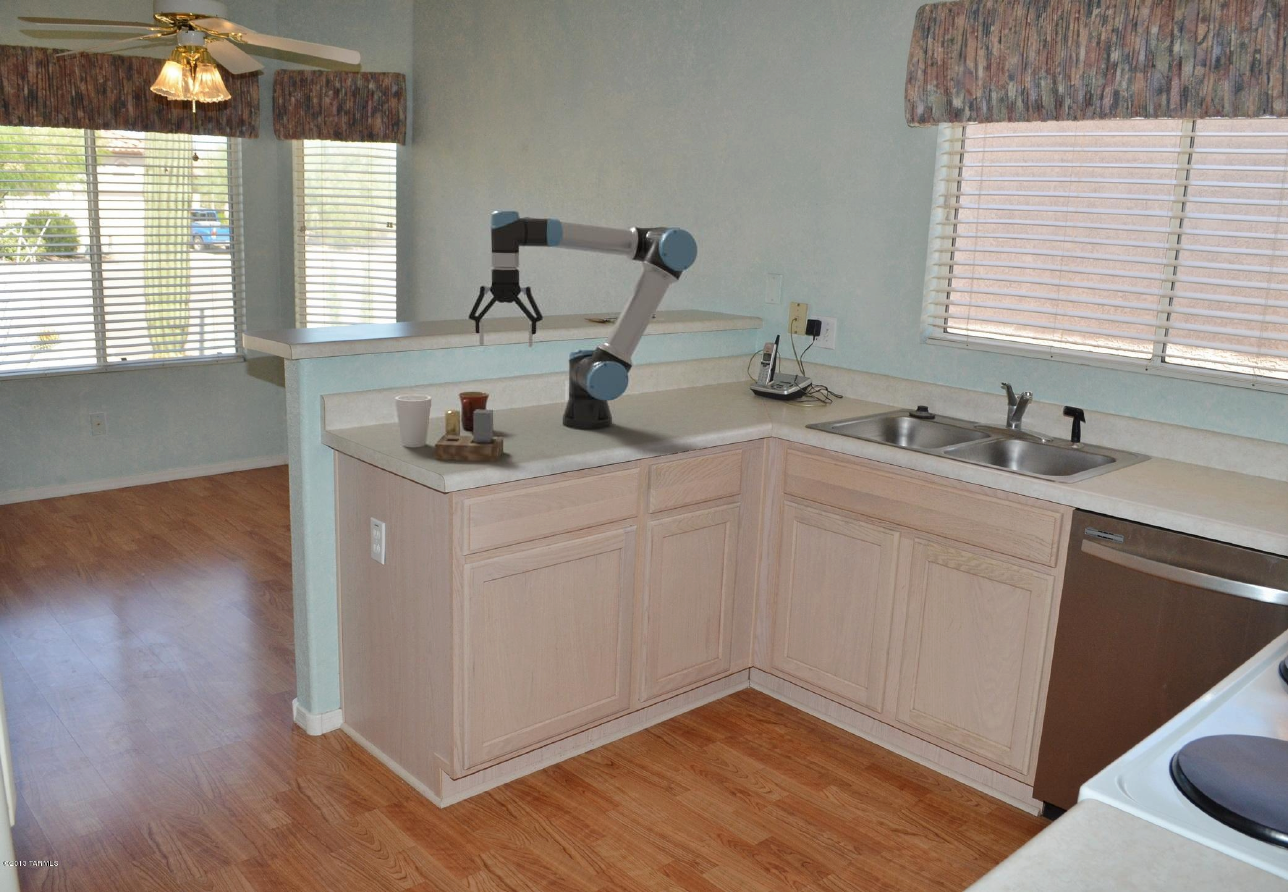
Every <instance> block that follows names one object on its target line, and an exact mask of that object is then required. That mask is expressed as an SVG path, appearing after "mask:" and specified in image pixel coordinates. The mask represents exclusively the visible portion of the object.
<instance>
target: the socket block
mask: <svg viewBox="0 0 1288 892" xmlns="http://www.w3.org/2000/svg"><path fill="white" fill-rule="evenodd" d="M503 453H504V437H503V436H493V444H477V443H473V435H460V436H455V435H445V434H443V435H442V436H441V438H439V439H438V441H436V442H435V443H434V459H435V460H440V461H441V460H442V461H446V460H447V461H448V460H449V461H467V462H468V461H471V462H498V461H499V460H500V458H501V457H502V454H503Z"/></svg>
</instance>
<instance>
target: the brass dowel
mask: <svg viewBox="0 0 1288 892" xmlns="http://www.w3.org/2000/svg"><path fill="white" fill-rule="evenodd" d="M444 423H445V425H444V426H445V427H444V428H445V431H444V432H445V434H444V435H455V436H461V411H460V410H457V409H456V410H455V409H448V410H445V412H444Z"/></svg>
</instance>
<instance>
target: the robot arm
mask: <svg viewBox="0 0 1288 892" xmlns="http://www.w3.org/2000/svg"><path fill="white" fill-rule="evenodd" d="M519 214H520V213H519V212H518V211H517V210H494V211H493V212H492V213H491V219H490V220H491V221H490V240H491V241H490V242H491V243H490V245H491V247H490V248H491V253H490V254H491V255H490V256H491V258H490V259H491V267H492V269H491V285H490V286H485V285H483V284H482V285H481V286H480V288H479V295H478V296H477V298H476V301H475V302H474V304H473V307H472V309H471V311H470V313H469V315H468V319H469V320H472V321H474V322H475V323H474V325H475V334H479V346H480V347H483V346H484V345H485V344H484V343H485V341H484V340H485V338H484V337H485V336H484V334H485V333H484V320H483V318H484V316H485V315H486V314H487V313H488V312H489V311H490V309H491V308H492V307H493V306H494V305H495V303H496V302H497V303H500V304H502V303H507V304H512V303H515V305H517V307H518V308H519V309H520V311H522V312H523V314H524V315H525V316H526V317H527V318H528V319H529V320H530V322H529V323H528V348H530V347H531V348H532V347H533V335H536V333H537V323H538V322H540V321H542V320H543V319H544V316H543V315H542V312H541V311H540V309H539V307H538V305H537V304H538V303H536V301H535V298H534V296H533V293H532V287H531V286H529V285H528V286H525V287H521V285H520V270H519V269H518V268H519V267H520V247H538V248H539V247H545V248H546V247H548V248H555V249H556V248H557V249H564V250H565V249H566V250H575V251H582V252H591V253H592V252H593V253H598V254H599V253H600V254H607V255H608V254H609V255H614V256H615V255H616V256H624V257H626V258H627V259H628V261H629V260H630V261H637V262H641V264H642V266H643V271H642V273H641V275H640V277H639V279H638V280H637V283H636V285H635V286H634V288H633V290H632V292H631V294H630V295H629V297H628V299H627V302H626V303H625V304H624V307H623V308H622V311H621V312H620V314H619V316H618V318H617V320H616V321H615V324H614V325H613V327H612V329H611V331H610V333H609V334H608V337H607V338H606V340H605V342H603V344H599V345H597V346H596V348H595V349H573V350H571V351H570V352H569V359H568V364H569V365H568V400H567V403H566V406H565V408H564V409H565V410H564V412H563V413H562V414H563V415H562V425H563V426H565V427H568V428H572V429H582V430H599V429H606V428H610V427H612V425H613V416H612V413H611V409H610V406H609V403H608V401H614V400H616V399H618V398H619V397H622V395H623V394H624V393H625V391H626V390H627V388H628V386H629V380H630V379H629V373H630V371H631V369H632V367H633V361H632V356H633V354H634V353H635V351H636V348H637V347H638V346H639V343H640V341H641V340H642V338H643V336H644V334H645V332H646V329H648V326H649V325H650V322H651V321H652V319H653V317H654V316H655V315H654V314H655V313H656V311H657V309H658V307H659V305H660V304H661V302H662V300H663V298H664V297H665V294H666V293H667V291H668V288H669V287H670V285H672V284H676V283H678V281H679V280H680V277H681V276H682V274H683V272H684V271H686V270H688V269H689V268H690V267H692V266H693V265H694V263H695V262H696V259H697V256H698V245H697V242H696V240H695V238H694V236H693V234H691V233H690V232H689V231H687V230H685V229H683V228H680V227H664V226H660V227H634V226H633V227H631V228H629V229H623V228H615V227H606V226H599V225H589V224H582V223H575V222H569V221H568V222H567V221H560V220H559V219H558V218H556V219H555V218H551V217H550V218H536V217H529V216H524V217H520V215H519ZM489 292H490V293H491V295H492V298H491V299H490V300H489V302H488V303H487V304H486V305H485V307H484V308H483V309H482V310H481V311H480V313H478V314H477V312H478V310H479V309H480V306H481V304H482V301H483V300H484V297H485V295H487V294H488V293H489ZM521 292H522V293H523V295H524V296H526V298H527V300H528V302H529V305H530V306H531V307H532V308H531V309H532V310H533V312H534V314H535V316H534V315H533V313H532V312H531V311H530V310H529V308H528V307H527V306H526V304H525V303H524V302H523V301H522V300H521V299H520V297H519V295H520V294H521ZM476 314H477V315H476ZM481 320H483V321H481Z"/></svg>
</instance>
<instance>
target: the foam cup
mask: <svg viewBox="0 0 1288 892" xmlns="http://www.w3.org/2000/svg"><path fill="white" fill-rule="evenodd" d="M394 399H395V401H394V402H395V409H396V413H397V420H398V421H397V422H398V427H399V435H400V439H401V441H400V442H401V446H403V447H405V448H421V447H425V446H426V445H427V440H428V439H427V438H428V429H429V422H430V414H431V408H432V397H431V396H429V395H425V394H403V395H398V396H396V397H395V398H394Z"/></svg>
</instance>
